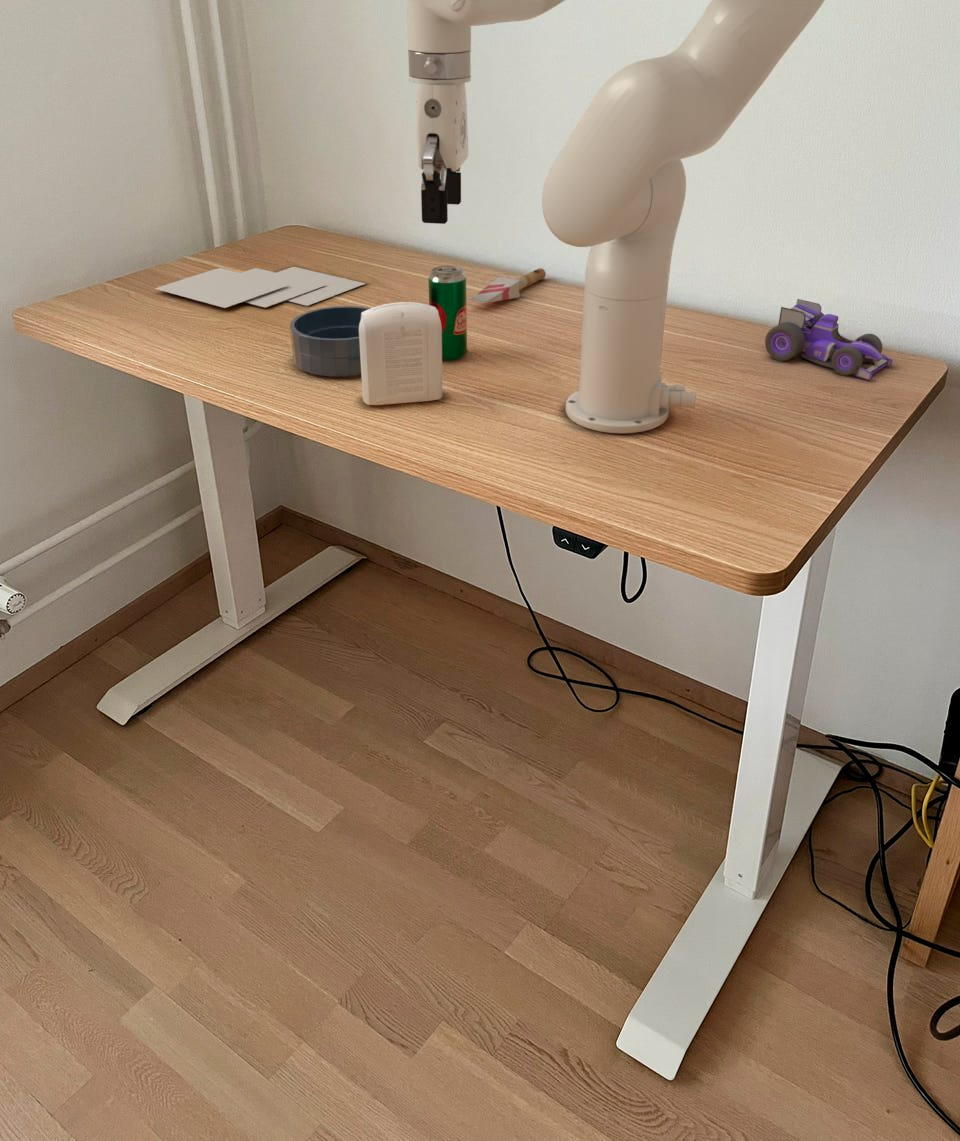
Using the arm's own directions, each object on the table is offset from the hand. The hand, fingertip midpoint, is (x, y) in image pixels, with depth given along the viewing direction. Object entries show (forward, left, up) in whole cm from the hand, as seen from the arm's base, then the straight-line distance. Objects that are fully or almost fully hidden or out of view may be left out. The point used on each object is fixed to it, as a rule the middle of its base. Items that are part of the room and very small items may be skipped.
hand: (442, 212), depth 132 cm
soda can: (-1, 0, -19) cm, 19 cm away
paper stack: (+35, -25, -19) cm, 47 cm away
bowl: (+13, +4, -19) cm, 24 cm away
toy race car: (-53, -6, -19) cm, 56 cm away
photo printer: (+2, +16, -20) cm, 25 cm away
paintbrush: (-6, -28, -20) cm, 34 cm away
